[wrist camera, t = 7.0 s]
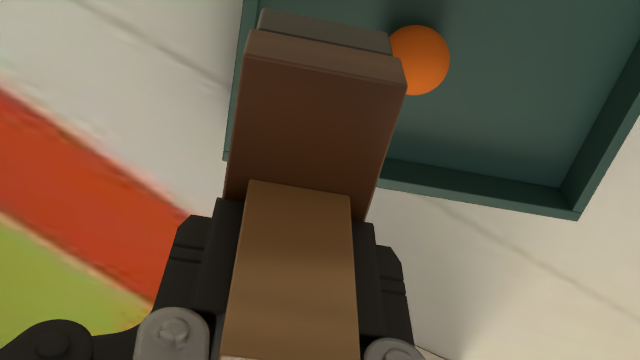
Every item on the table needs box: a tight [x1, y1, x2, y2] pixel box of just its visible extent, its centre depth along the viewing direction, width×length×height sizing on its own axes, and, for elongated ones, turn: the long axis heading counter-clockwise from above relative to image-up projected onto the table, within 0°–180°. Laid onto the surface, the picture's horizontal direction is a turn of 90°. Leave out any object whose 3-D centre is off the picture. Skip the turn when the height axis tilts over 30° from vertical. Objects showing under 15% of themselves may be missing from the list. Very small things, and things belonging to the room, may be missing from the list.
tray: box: [222, 0, 640, 221], centre depth 27 cm, size 13×18×3 cm
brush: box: [218, 8, 408, 360], centre depth 14 cm, size 9×4×8 cm, turn 168°
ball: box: [389, 25, 450, 95], centre depth 26 cm, size 3×3×3 cm
